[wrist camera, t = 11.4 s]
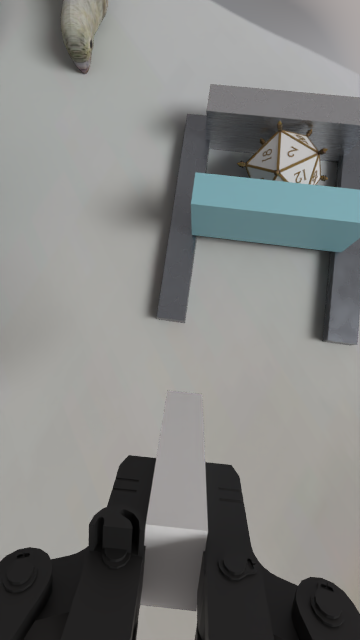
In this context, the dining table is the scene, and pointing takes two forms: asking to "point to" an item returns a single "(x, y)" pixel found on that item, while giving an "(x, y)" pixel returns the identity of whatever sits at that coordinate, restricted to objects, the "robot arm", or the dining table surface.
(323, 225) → the sliding jaw
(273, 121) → the vise base
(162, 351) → the dining table surface
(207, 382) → the dining table surface
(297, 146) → the game die
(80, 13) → the decorative bird
